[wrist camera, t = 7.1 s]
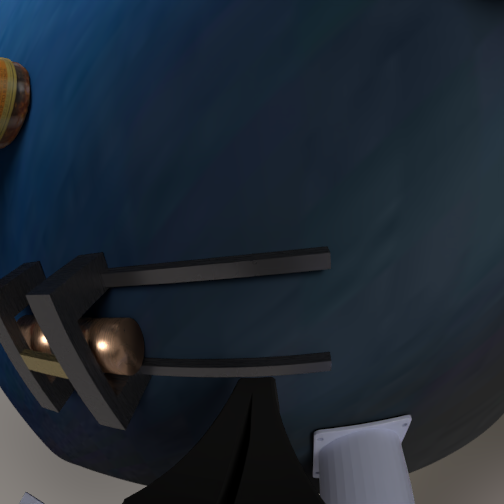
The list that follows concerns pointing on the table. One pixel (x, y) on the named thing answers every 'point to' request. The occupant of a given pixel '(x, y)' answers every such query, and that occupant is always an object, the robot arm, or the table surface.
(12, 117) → the sauce bottle
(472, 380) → the table surface
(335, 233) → the table surface
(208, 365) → the metal clamp tool
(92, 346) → the tube
